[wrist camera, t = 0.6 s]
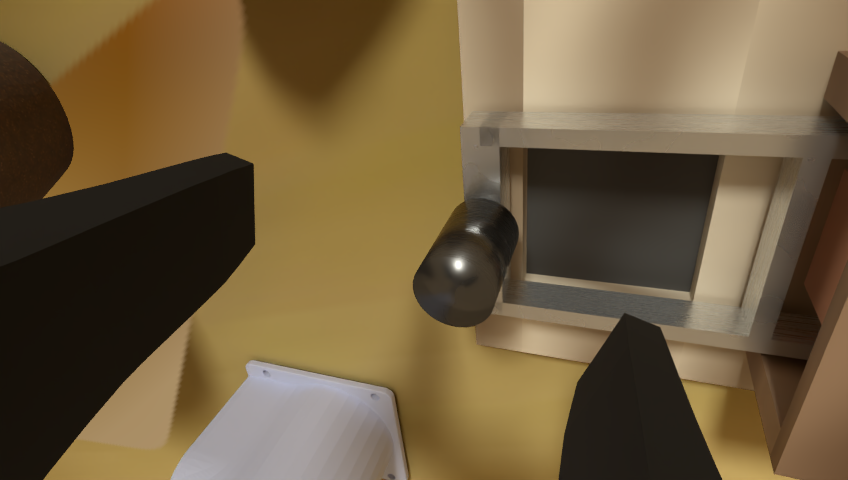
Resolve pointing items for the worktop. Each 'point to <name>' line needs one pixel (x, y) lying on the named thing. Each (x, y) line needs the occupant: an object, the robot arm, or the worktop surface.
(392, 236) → the worktop surface
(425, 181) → the worktop surface
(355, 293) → the worktop surface
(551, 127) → the slider frame
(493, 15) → the tunnel deck
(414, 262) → the worktop surface
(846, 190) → the block
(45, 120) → the plant pot
